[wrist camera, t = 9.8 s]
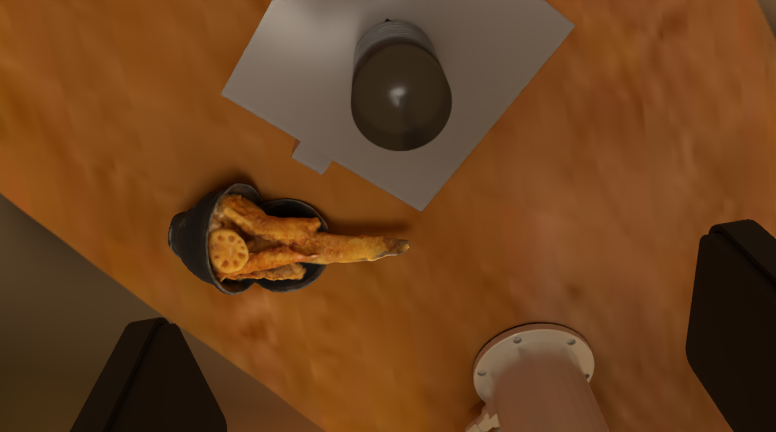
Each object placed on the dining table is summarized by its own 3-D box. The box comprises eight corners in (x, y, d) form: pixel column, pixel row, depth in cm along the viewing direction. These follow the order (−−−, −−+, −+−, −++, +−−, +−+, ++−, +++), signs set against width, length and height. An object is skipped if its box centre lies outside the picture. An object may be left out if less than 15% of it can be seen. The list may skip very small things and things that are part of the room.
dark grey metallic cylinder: (400, 91, 37) (423, 229, 23) (300, 25, 34) (254, 132, 20) (473, -10, 34) (553, 76, 19) (368, -91, 31) (371, -61, 17)
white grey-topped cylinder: (383, 124, 44) (392, 246, 30) (256, 44, 40) (196, 139, 26) (496, -31, 38) (575, 25, 24) (360, -141, 35) (356, -152, 20)
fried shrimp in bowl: (136, 187, 41) (365, 195, 36) (224, 173, 51) (412, 178, 46) (146, 306, 43) (367, 332, 37) (230, 270, 53) (412, 286, 47)
